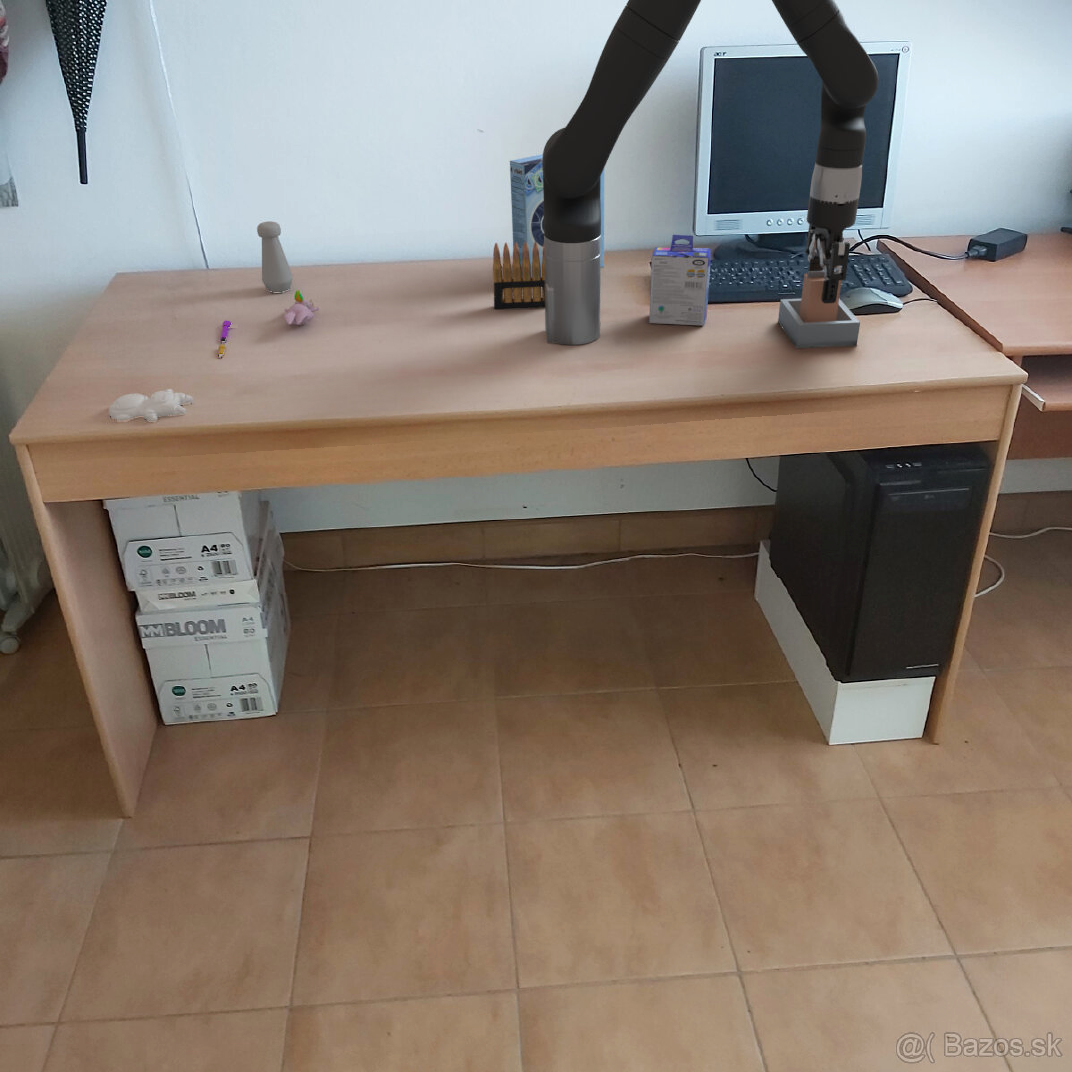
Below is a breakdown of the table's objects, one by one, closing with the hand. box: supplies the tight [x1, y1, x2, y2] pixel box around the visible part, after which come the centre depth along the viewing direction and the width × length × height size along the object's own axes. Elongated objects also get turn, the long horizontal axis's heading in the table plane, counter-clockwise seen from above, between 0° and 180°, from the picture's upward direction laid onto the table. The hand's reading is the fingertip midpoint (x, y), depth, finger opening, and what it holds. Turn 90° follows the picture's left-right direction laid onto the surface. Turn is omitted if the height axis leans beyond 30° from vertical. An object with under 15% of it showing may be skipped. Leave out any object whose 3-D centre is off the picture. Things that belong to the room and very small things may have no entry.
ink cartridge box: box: [648, 234, 712, 327], centre depth 173 cm, size 10×6×14 cm, turn 78°
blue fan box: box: [509, 153, 605, 278], centre depth 193 cm, size 20×5×23 cm, turn 127°
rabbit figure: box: [283, 289, 320, 326], centre depth 180 cm, size 6×6×15 cm
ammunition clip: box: [492, 241, 545, 311], centre depth 182 cm, size 11×2×12 cm, turn 93°
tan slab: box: [799, 269, 843, 323], centre depth 167 cm, size 5×4×10 cm
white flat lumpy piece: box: [108, 388, 194, 421], centre depth 152 cm, size 9×12×3 cm
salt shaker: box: [256, 220, 294, 292], centre depth 192 cm, size 6×6×13 cm
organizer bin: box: [777, 297, 861, 349], centre depth 169 cm, size 10×12×4 cm
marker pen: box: [217, 319, 232, 355], centre depth 175 cm, size 3×1×16 cm
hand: (820, 293), depth 167 cm, fingers open, 8 cm apart
